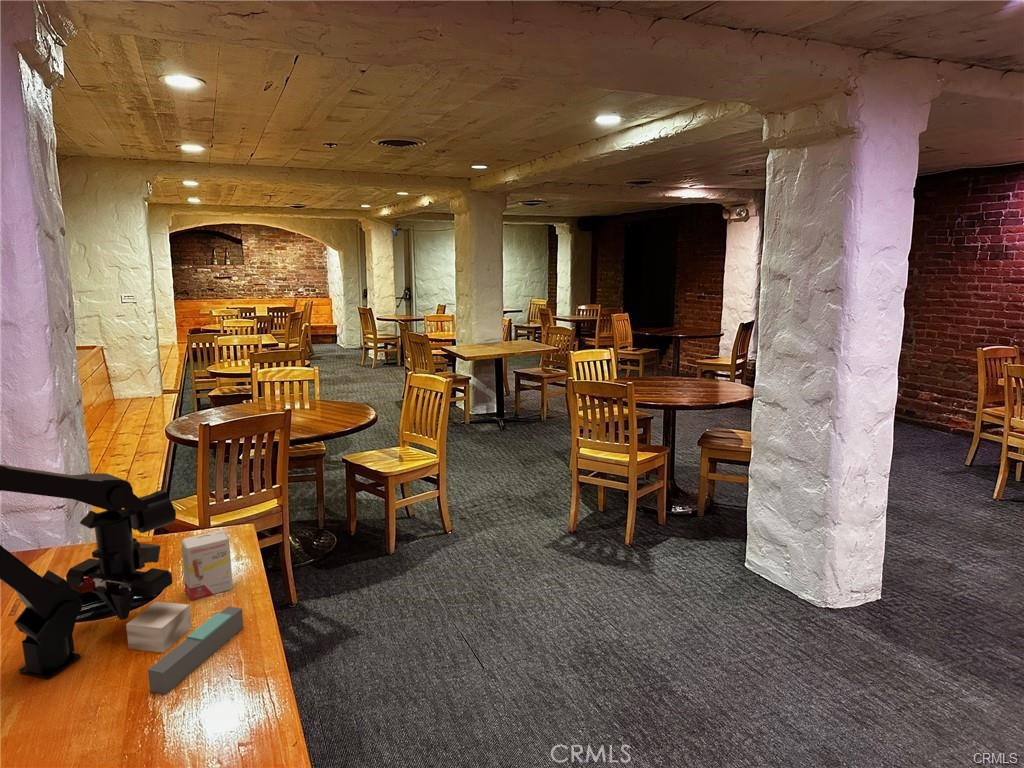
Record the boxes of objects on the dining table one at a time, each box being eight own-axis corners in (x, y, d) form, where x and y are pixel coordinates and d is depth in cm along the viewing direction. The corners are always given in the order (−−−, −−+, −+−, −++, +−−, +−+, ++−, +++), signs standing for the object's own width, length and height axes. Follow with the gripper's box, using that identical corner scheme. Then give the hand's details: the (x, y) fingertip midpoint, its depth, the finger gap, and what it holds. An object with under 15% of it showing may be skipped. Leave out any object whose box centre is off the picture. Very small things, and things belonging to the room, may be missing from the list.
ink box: (190, 601, 136) (184, 548, 133) (184, 591, 140) (179, 539, 137) (233, 589, 141) (229, 537, 138) (227, 579, 145) (223, 529, 142)
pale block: (164, 653, 119) (161, 628, 118) (128, 649, 120) (126, 624, 119) (191, 628, 127) (189, 604, 126) (158, 624, 128) (155, 601, 127)
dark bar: (165, 694, 108) (163, 670, 107) (149, 691, 109) (147, 667, 108) (243, 627, 127) (242, 606, 126) (229, 625, 128) (227, 604, 127)
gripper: (189, 529, 127) (196, 604, 130) (109, 518, 131) (117, 590, 135) (144, 555, 116) (153, 635, 120) (58, 542, 121) (69, 620, 124)
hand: (124, 618), depth 125 cm, fingers closed
